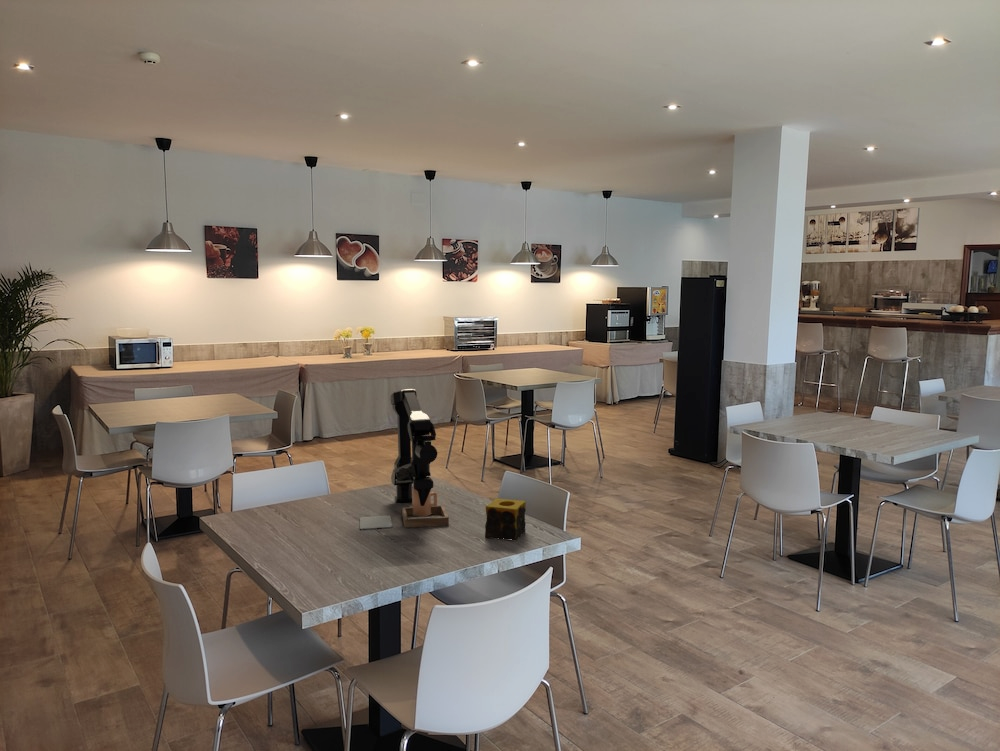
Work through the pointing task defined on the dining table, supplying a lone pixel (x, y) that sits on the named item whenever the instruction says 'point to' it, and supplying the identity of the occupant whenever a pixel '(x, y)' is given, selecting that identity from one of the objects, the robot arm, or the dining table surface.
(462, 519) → the dining table surface
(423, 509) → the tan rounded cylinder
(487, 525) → the candle
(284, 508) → the dining table surface
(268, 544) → the dining table surface
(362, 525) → the pad
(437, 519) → the wooden picture frame
